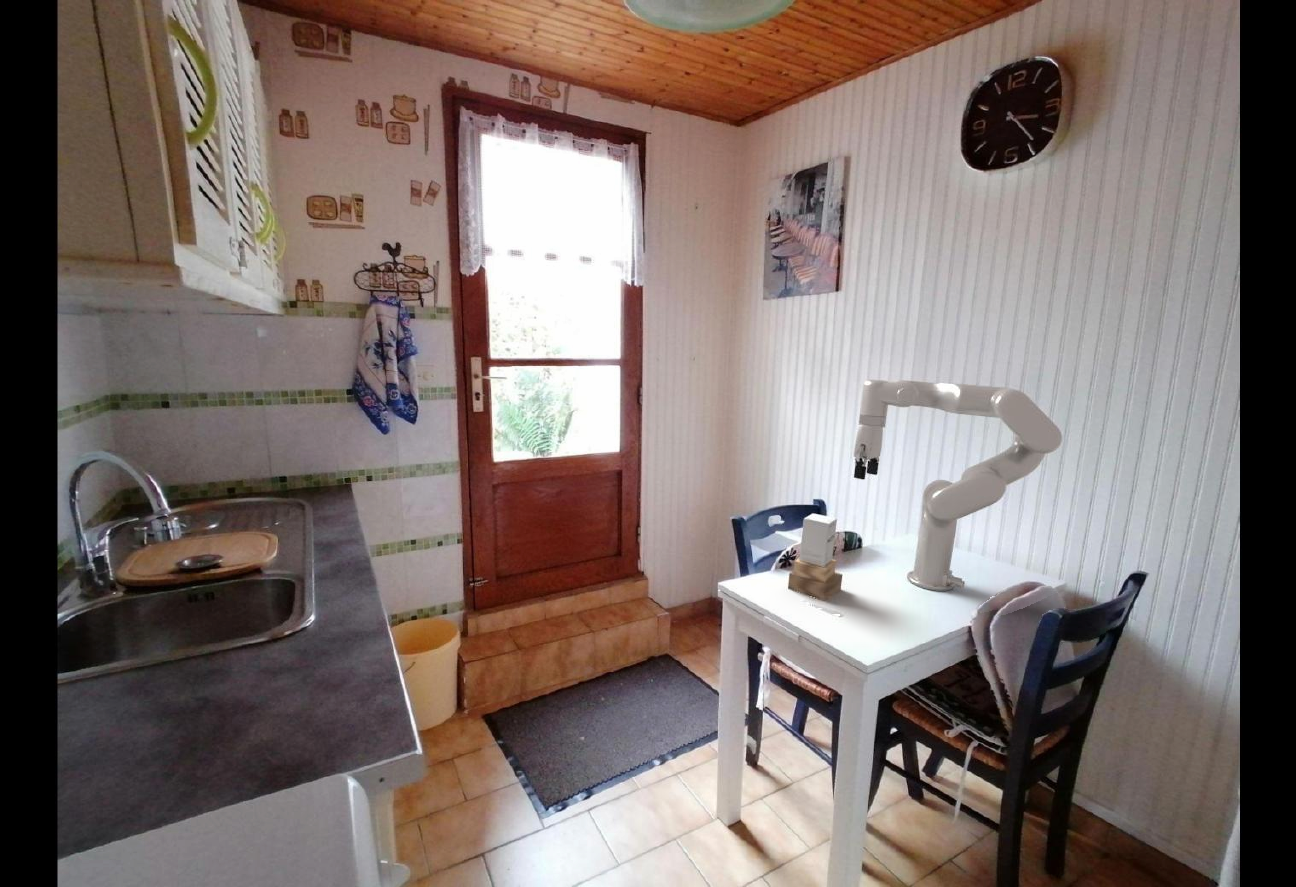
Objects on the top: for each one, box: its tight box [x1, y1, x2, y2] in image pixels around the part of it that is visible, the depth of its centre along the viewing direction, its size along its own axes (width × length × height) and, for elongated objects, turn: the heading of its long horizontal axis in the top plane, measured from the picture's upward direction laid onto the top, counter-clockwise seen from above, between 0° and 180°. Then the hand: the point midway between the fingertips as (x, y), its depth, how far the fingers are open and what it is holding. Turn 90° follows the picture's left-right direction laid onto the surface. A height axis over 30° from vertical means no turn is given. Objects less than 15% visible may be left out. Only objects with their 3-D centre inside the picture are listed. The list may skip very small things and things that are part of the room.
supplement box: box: [798, 513, 838, 567], centre depth 158 cm, size 7×7×13 cm
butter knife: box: [802, 600, 844, 618], centre depth 153 cm, size 1×24×3 cm
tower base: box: [787, 570, 843, 602], centre depth 160 cm, size 11×11×5 cm
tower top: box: [793, 556, 837, 583], centre depth 159 cm, size 9×9×4 cm
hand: (865, 476), depth 171 cm, fingers open, 9 cm apart
